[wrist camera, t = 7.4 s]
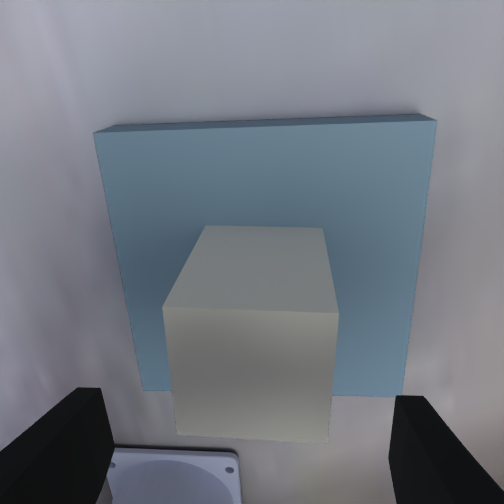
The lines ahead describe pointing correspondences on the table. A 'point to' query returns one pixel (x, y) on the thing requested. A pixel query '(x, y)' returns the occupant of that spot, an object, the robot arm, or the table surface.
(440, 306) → the table surface
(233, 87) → the table surface
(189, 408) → the white block
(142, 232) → the base board
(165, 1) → the table surface
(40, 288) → the table surface
